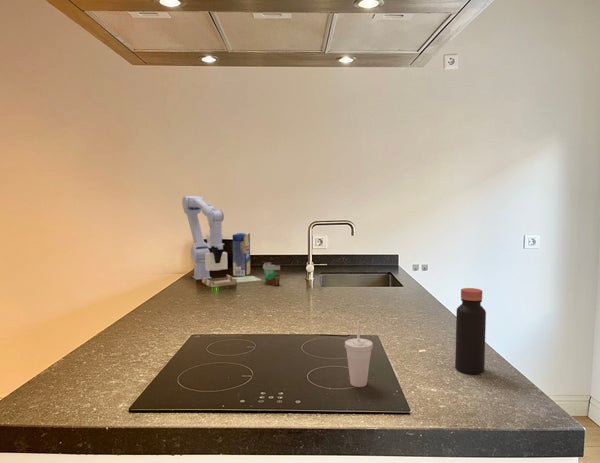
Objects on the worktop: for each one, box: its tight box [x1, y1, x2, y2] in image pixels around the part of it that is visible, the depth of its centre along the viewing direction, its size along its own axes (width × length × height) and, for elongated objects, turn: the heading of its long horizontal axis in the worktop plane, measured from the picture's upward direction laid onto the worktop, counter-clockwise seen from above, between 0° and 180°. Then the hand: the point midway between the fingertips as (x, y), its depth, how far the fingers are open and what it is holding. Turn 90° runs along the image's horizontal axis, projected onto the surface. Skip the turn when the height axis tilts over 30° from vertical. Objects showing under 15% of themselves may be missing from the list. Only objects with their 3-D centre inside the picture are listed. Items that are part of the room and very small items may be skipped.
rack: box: [201, 274, 238, 288], centre depth 222 cm, size 14×13×3 cm
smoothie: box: [344, 322, 374, 388], centre depth 104 cm, size 6×6×14 cm
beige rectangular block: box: [205, 251, 228, 272], centre depth 224 cm, size 4×10×8 cm, turn 117°
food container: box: [262, 261, 281, 287], centre depth 219 cm, size 12×6×10 cm, turn 25°
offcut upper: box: [213, 280, 231, 284], centre depth 219 cm, size 4×8×1 cm, turn 116°
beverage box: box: [232, 232, 251, 277], centre depth 247 cm, size 7×11×22 cm, turn 173°
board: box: [234, 275, 263, 284], centre depth 232 cm, size 13×13×1 cm
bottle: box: [454, 287, 487, 375], centre depth 112 cm, size 7×7×20 cm
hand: (216, 262), depth 224 cm, fingers closed on beige rectangular block, 4 cm apart
